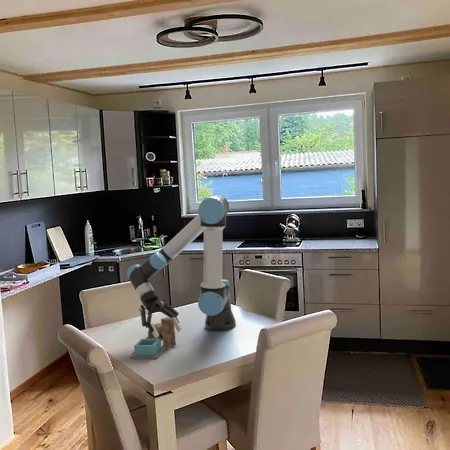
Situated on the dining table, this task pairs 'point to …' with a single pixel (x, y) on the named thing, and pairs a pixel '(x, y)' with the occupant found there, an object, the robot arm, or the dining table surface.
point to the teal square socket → (148, 349)
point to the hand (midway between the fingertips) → (168, 333)
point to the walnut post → (168, 331)
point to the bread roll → (159, 330)
